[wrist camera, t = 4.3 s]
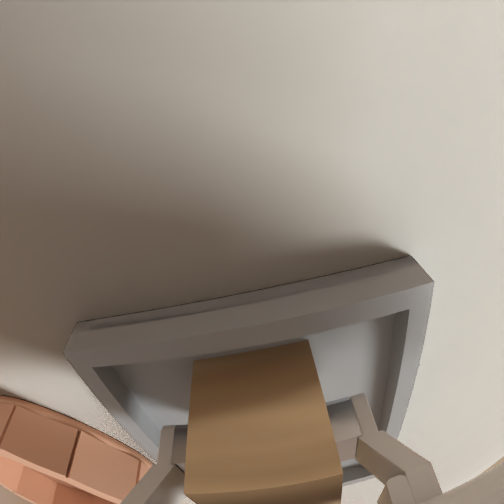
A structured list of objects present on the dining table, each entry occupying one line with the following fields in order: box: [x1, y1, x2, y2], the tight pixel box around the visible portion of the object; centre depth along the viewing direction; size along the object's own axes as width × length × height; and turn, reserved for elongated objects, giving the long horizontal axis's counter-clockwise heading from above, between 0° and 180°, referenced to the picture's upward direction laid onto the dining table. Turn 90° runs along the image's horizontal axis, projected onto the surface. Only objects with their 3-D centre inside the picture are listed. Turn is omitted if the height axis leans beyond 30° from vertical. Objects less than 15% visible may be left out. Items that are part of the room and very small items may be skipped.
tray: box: [63, 256, 434, 486], centre depth 13 cm, size 16×12×2 cm
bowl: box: [0, 395, 153, 504], centre depth 15 cm, size 15×15×4 cm
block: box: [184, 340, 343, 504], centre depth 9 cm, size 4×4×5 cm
